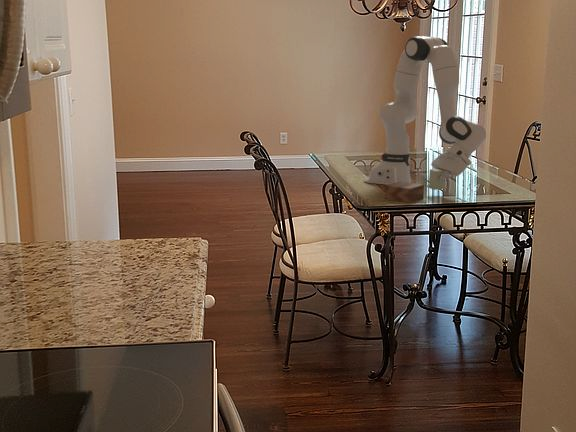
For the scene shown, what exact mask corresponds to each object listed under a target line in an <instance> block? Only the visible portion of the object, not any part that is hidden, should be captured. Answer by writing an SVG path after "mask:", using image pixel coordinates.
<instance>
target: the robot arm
mask: <svg viewBox="0 0 576 432" xmlns="http://www.w3.org/2000/svg"><path fill="white" fill-rule="evenodd" d="M425 63H429V64H430V66H431V68H432V75H433V76H432V77H433V80H434V84H435V89H436V93H437V97H438V105H439V112H440V113H439V115H440V127H439V129H438V135H439V138H440V140H441V142H443V143H444V144H447V145H452V146H451V147H449V149H448V150H447V152H444V153H440V154H439V155H438V156H436V158H435V159H434V160H433V161H431V164H430V166H431V167H433V168H432V169H442V170H445V173H444V174H442V175H440V176H439V177H438V179H439V180H441V181H442V180H443V179H444V178H445V179H446V178H448V177H449V176H450V175H451V176H453V177H459V176H460V175H461V174H462V173H463V172H464V171H465V170H466V169H467V168H468V167H469V166H470V165H471V164H472V163H473V162H472V161H471V160H470V158H471V156H472V154H473V153H474V152H476V151H477V150H478V149H479V148H480V147H481V145H482V144H483V143H484V142H485V140H486V138H487V131H486V129H485V128H484V127H483V125H481V124H480V123H478V122H477V123H476V122H471V121H468V120H466V119H464V118H463V117H461V116H458V115H457V116H456V112H455V105H454V101H455V100H454V98H455V94H456V91H457V89H458V87H459V84H460V72H459V67H458V66H459V65H458V62H457V57H456V54H455V53H454V49H453V48H452V47H451V46H450V45H449V44H448V42H447V41H446V40H445V39H442V38H440V37H434V36H420V35H419V36H418V35H417V36H413V37H410V38H409V39H408V40H407V41H406V43H405V46H404V49H403V51H401V54H400V57H399V60H398V62H397V66H396V70H395V76H394V80H393V84H392V88H393V91H394V97H395V98H394V101H391V102H388V103H386V104H384V105H382V106H381V107H380V109H379V113H378V116H379V119H380V121H381V123H382V124H383V126H384V131H385V139H386V140H385V142H386V143H385V151H386V152H384V153H383V154H381V161H379V162H378V163H377V164H375V165H374V166H373V167H371V169H370V170H369V171H370V172H369V175H368V177H365V178H364V183H366V184H367V183H368V184H376V185H377V184H378V185H385V186H386V185H390V184H393V183H397V182H406V183H412V179H411V173H410V164H411V153H410V142H411V141H410V140H411V139H410V135H409V133H408V131H407V128H406V124H409V123H412V122H413V121H415V120H416V119H417V117H418V115H419V107H418V105H417V89H418V85H419V81H420V76H421V71H422V67H423V65H424V64H425Z"/></svg>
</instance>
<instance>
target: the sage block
mask: <svg viewBox="0 0 576 432" xmlns="http://www.w3.org/2000/svg"><path fill="white" fill-rule="evenodd" d="M444 173H445V170H442V169H434V168H432V169H429V177H428V178H429V179H428V180H429V181H428V184H426V188H429V189H430V190H432V191H433V190H434V191H435V190H436V191H437V190H448V186H446V178H444V179H443V180H442V181H441V180H439V179H438V177H439V176H440V175H442V174H444Z"/></svg>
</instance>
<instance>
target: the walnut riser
mask: <svg viewBox="0 0 576 432" xmlns="http://www.w3.org/2000/svg"><path fill="white" fill-rule="evenodd" d="M384 190H385V191H384V192H385V193H384V199H385V200H388V199H389V201H394V200H396V201H395V202H397V201H398V202H402V203H413V202H415V201H419V200H422V199H424V196H425V193H424V191H425V185H424V184H422V183H414V182H413V183H412V182H411V183H406V182H397V183H393V184H390V185H385V188H384Z"/></svg>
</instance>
